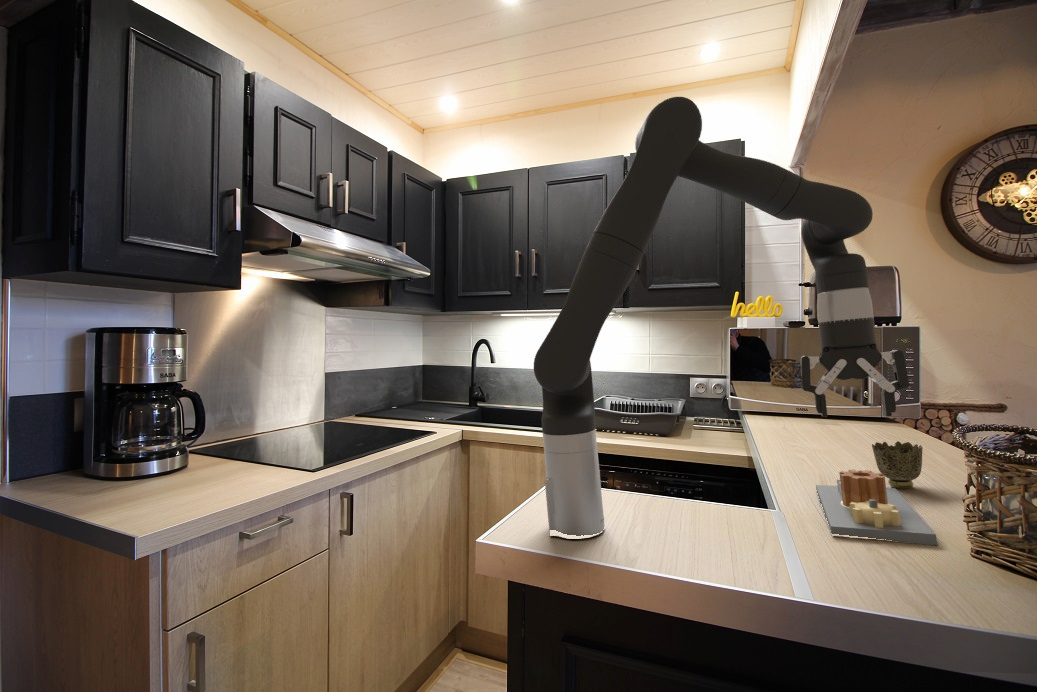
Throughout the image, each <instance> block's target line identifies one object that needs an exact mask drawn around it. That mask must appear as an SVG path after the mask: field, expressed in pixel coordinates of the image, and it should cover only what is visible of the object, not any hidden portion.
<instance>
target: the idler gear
mask: <svg viewBox="0 0 1037 692" xmlns="http://www.w3.org/2000/svg"><path fill="white" fill-rule="evenodd" d="M839 478H840V482H841V491H842V500H843V505H845V506H850V503H851V502H855V503H861V502H866V501H869V499H874V500H877V503H881V504H885V505H887V504H888V501H887V492H886V488H887V485H886V477H885V476H884V475H883V474H882V473H881V472H873V471H872V470H868V469H865V470H856V469H848V471H844V470H841V471H839Z"/></svg>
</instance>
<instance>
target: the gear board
mask: <svg viewBox="0 0 1037 692" xmlns="http://www.w3.org/2000/svg"><path fill="white" fill-rule="evenodd" d="M836 484H837V485H827V484H826V485H825V484H822V485H821V484H815V490H817V491H816V494H817V493H818V495H817V497H818V496H819V498H818V500H819V499H820V501H819V503H820V502H821V504H822V507H823V510H824V512H823V514H824V513H825V515H824V517H825V516H826V518H827V521H828V524H829V527H830V530H831V532H830V534H831V533H832V534H839V535H849V536H858V537H868V538H876V539H884V540H885V539H886V540H892V541H898V542H897V543H903V542H907V543H906V544H914V543H916V544H917V545H928V546H929V545H930V546H938V539H937V534H936V533H935V532H934V530H933V529H932V528H931V526H929V525H928V524H927V523H926V521H925V520H924V519H923V518H922V517H921V515H920V514H918V512H917V511H916V510H915V509H914V508H913V507H912V506H911V504H910V503H909V502H908V501H907V500H906V498H904V496H903V495H901V493H900V492H899V491H898V489H897V488H894V487H886V492H887V501H888V504H887V505H885V504H881V503H877V500H874V499H869V501H866V502H861V503H855V502H851V503H850V506H845V505H843V500H842V491H841V482H840V477H839V478H837V479H836ZM821 504H820V505H821ZM822 507H821V508H822ZM823 510H822V511H823ZM826 518H825V519H826ZM827 521H826V522H827ZM828 524H827V525H828ZM829 527H828V528H829ZM830 530H829V531H830ZM916 544H915V545H916Z"/></svg>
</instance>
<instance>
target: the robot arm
mask: <svg viewBox="0 0 1037 692" xmlns="http://www.w3.org/2000/svg"><path fill="white" fill-rule="evenodd" d="M702 130H703V119H702V114H701V111H700V109H699V107H698V106H697V104H696V103H695V102H694V101H693V100H692V99H690V98H689V97H684V96H673V97H669V98H667V99H664V100H662V101H661V102H660V103H658V104H656V105H655V106H654V107H653V108H651V111H650V112H649V113H648V114H647V115H646V117H645V119H644V121H643V122H642V124H641V126H640V127H639V130H638V131H637V134H636V137H635V142H634V144H635V145H634V146H635V148H634V149H635V153H634V157H633V160H632V162H631V164H630V167H629V169H628V172H627V173H626V175H625V178H624V180H623V181H622V183H621V184H620V186H619V188H618V189H617V191H616V192H615V194H614V195H613V197H612V198H611V200H610V201H609V203H608V205H607V207H606V208H605V210H604V212H603V213H602V216H601V217H600V219H599V221H598V223H597V225H596V226H595V228H594V230H593V231H592V235H591V237H590V238H589V241H588V243H587V245H586V247H585V249H584V253H583V255H582V256H581V259H580V262H579V264H578V266H577V269H576V272H575V275H574V277H573V279H572V281H571V285H570V286H569V287H570V288H569V291H568V293H567V296H566V299H565V302H564V304H563V306H562V309H561V310H560V312H559V314H558V316H557V317H556V320H554V323H553V324H552V326H551V328H550V330H549V332H548V333H547V334H546V336H545V338H544V340H543V341H542V343H541V345H540V346H539V348H538V350H537V351H536V354H535V356H534V359H533V373H534V377H535V378H536V381H537V383H538V384H539V385H540V386H541V391H542V392H541V394H542V414H541V419H540V420H541V430H542V431H541V432H542V441H543V452H544V464H545V475H546V477H545V479H544V486H545V499H546V509H547V510H546V511H547V523H548V531H549V530H556V531H558V532H561V533H563V534H567V535H576V536H581V535H583V536H584V535H593V534H597V533H600V532H601V531H603V529H604V527H605V516H604V507H603V497H602V486H601V485H602V483H601V473H600V463H599V462H600V461H599V451H598V443H597V431H596V421H595V420H596V419H595V417H596V416H595V415H596V414H595V413H596V412H595V407H596V406H595V399H594V398H595V397H594V385H593V372H592V364H591V357H592V354H593V352H594V351H593V350H594V348H595V346H596V342H597V340H598V338H599V335H600V333H601V331H602V328H603V325H604V324H605V323H606V320H607V319H608V317H609V316H610V314H611V312H612V311H613V310H614V308H615V307H616V305H617V304H618V303H619V301H620V299H621V298H622V297H623V295H624V293H625V292H626V290H627V288H628V287H629V285H630V282H631V281H632V280H633V277H634V276H635V274H636V272H637V269H638V267H639V265H640V263H641V261H642V259H643V256H644V255H645V253H646V251H647V248H648V245H649V242H650V240H651V238H652V236H653V233H654V230H655V228H656V226H657V223H658V220H659V218H660V215H661V213H662V210H663V207H664V205H665V202H666V199H667V197H668V195H669V193H670V190H671V188H673V185H674V182H675V181H676V179H677V177H680V178H683V179H686V180H689V181H692V182H695V183H698V184H701V185H704V186H706V187H709V188H712V189H715V190H717V191H719V192H722V193H724V194H726V195H728V196H730V197H732V198H733V197H734V198H735V199H738V200H740V201H742V202H743V203H746V204H748V205H750V206H752V207H754V208H756V209H758V210H760V211H762V212H763V213H765V214H768V215H770V216H772V217H775V218H776V219H779V220H782V221H793V220H802V222H801V223H802V224H801V227H800V229H801V232H800V233H801V239H802V242H803V245H804V248H805V250H806V253H807V255H808V258H809V261H810V262H811V265H812V267H813V269H814V272H815V284H816V285H815V286H816V294H817V299H816V302H817V303H816V312H817V314H816V319H817V322H818V331H819V341H820V343H819V344H820V354H819V356H808V355H802V356H801V357H800V385H801V386H800V387H801V389H802V390H803V391H805V392H809V393H811V394H813V396H814V403H815V410H816V412H817V413H818V414H820V416H821V417H825V418H827V417H828V409H827V400H826V399H827V398H826V394H825V393H824V392H825V391H826V390H827V388H828V387H829V386H830V385H831V384H832V383H833V382H834V380H835V379H837V380H841V381H844V380H845V381H846V380H850V379H855V380H864V379H866V378H869V379H871V380H872V381H873V382H874V383H875V384H877V385H878V387H880V389H882V391H881V392H880V395H881V397H880V399H881V404H882V405H881V406H882V413H883V416H885V417H892V416H893V413H896V411H897V404H896V396H895V394H896V392H897V391H898V390H901V389H906V388H908V387H909V386H910V381H909V375H908V370H907V365H906V361H905V355H904V352H903V351H902V350H900V349H892V350H891V351H884V352H883V351H882V352H881V351H880V350H879V349H878V345H877V337H876V328H875V327H876V326H875V325H876V324H875V317H874V307H873V301H872V297H871V293H870V289H869V281H868V280H869V279H868V271H867V270H868V269H867V264H866V259H865V257H864V256H862V255H861V254H859V253H852V252H851V253H849V251H848V250H847V246H846V244H845V240H846V239H850V238H852V237H855V236H858V235H859V234H861V233H862V232H864V231H866V229H868V227H869V226H870V225H871V223H872V220H873V209H872V206H871V204H870V203H869V201H868V200H867V199H866V198H865V197H864V196H863V195H861V194H860V193H857V192H855V191H853V190H851V189H848V188H844V187H841V186H836V185H832V184H827V183H823V182H819V181H812V180H809V179H806V178H804V177H802V176H800V175H798V174H796V173H794V172H792V170H791V171H790V170H788V169H786V168H784V167H782V166H780V165H778V164H776V163H773V162H770V161H767V160H763V159H760V158H754V157H749V156H745V155H739V154H733V153H730V152H727V151H724V150H719V149H717V148H714V147H712V146H709V145H708V144H706V143H704V142H702V141H701V140H700V138H701V134H702ZM882 359H884V360H885V361H886V364H889V365H891V367H892V370H893V371H892V372H893V376H894V380H893V381H891V382H890V381H889V380H888V379H887V378H885V377H884V375H883V374H881V372H880V371H878V370H877V369H876V367H877V366H878V364H879V363H880V362H881V361H882ZM818 363H819V364H820V365H821V366H822V367H823V368H824V369H825V370H826V371H825V373H824V374H823V375H822V377H821V378H820V380H819V381H817V384H816V385H815V384H812V383H811V370H812V369H814V368H815V367H816V364H818Z"/></svg>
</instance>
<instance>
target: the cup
mask: <svg viewBox="0 0 1037 692" xmlns="http://www.w3.org/2000/svg"><path fill="white" fill-rule="evenodd" d="M871 444H872V445H871V448H872V452H873V456H874V460H875V463H876V466H877V468H878V471H879V473H882V474H883V475H884V476H885V478H887V479H888V481H887V482H888V484H889V486H890V488H895V489H897V490H898V489H899V490H909V489H912V488H913V487H914V482H913V481H914V480H916V479H917V478H918V477H920V475H921V473H922V468H923V446H922V445H921V444H920V445H918V444H914V445H913V444H912V443H911V442H909V441H907V442H904V443H902V442H901V441H899V440H897V441H896V442H895V443H894V445H892V444H891V445H889V444H888V442H886V441H883V442H882V443H881V442H875V444H873V443H871Z"/></svg>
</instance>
